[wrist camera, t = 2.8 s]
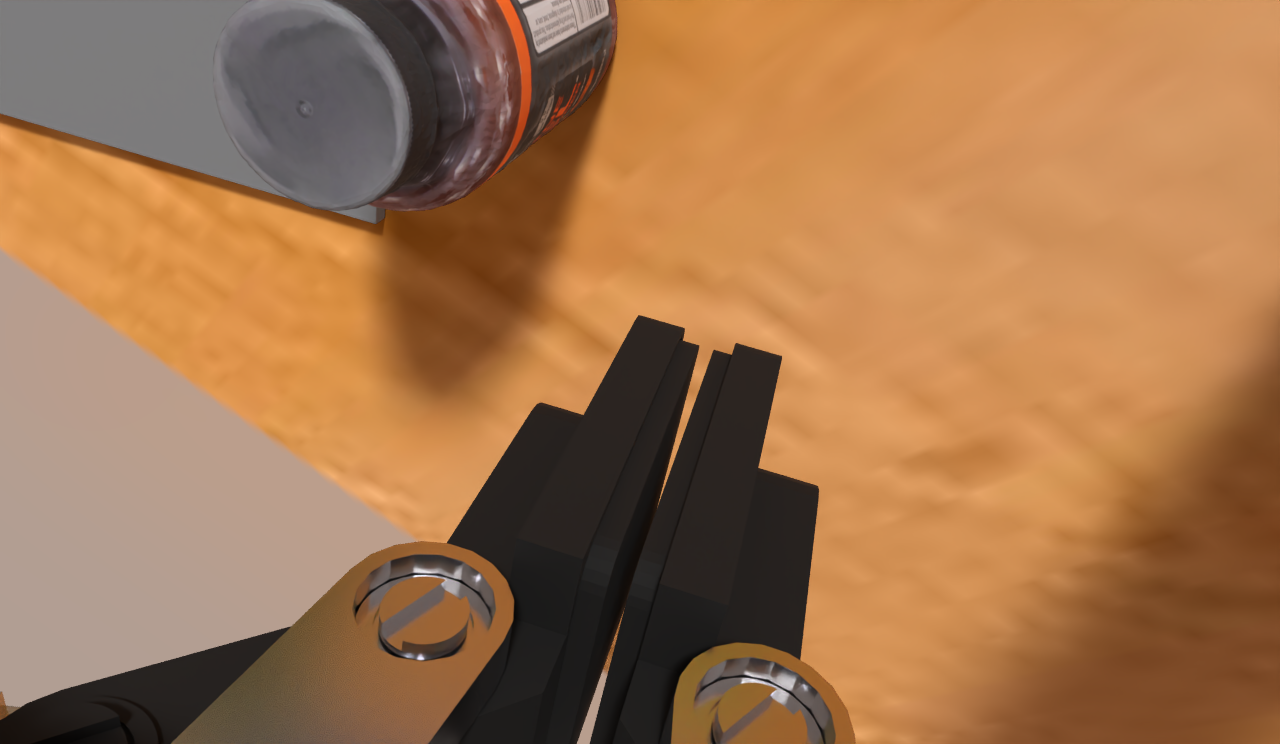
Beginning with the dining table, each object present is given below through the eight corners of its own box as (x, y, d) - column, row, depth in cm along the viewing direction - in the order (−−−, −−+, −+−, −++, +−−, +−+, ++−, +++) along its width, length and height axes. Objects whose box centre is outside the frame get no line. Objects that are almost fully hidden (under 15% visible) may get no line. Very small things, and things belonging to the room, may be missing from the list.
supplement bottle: (525, 158, 28) (329, 318, 19) (388, 0, 27) (102, 85, 17) (668, 29, 25) (521, 140, 16) (522, -157, 24) (266, -157, 14)
